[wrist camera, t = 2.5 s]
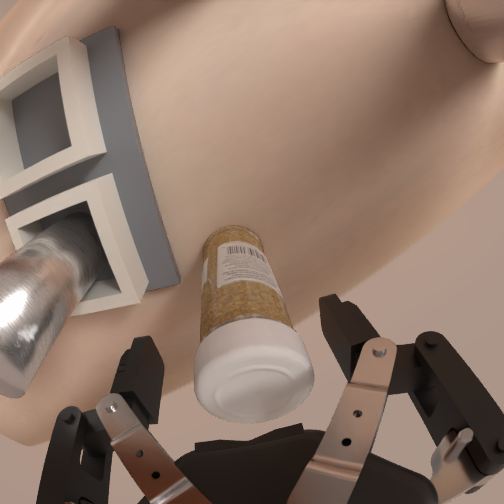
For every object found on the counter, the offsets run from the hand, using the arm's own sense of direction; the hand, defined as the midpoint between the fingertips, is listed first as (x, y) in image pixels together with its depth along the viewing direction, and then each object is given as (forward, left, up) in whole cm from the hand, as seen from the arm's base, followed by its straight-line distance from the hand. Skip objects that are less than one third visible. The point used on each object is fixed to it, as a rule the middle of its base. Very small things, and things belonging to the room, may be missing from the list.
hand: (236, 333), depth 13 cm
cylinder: (+11, -4, -9) cm, 14 cm away
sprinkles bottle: (0, 0, -10) cm, 10 cm away
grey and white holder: (+11, -9, -10) cm, 17 cm away
